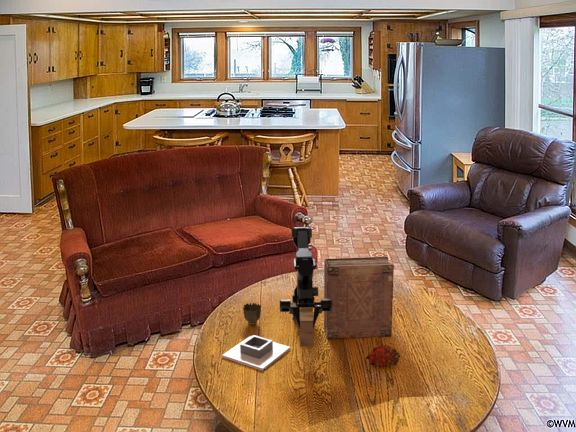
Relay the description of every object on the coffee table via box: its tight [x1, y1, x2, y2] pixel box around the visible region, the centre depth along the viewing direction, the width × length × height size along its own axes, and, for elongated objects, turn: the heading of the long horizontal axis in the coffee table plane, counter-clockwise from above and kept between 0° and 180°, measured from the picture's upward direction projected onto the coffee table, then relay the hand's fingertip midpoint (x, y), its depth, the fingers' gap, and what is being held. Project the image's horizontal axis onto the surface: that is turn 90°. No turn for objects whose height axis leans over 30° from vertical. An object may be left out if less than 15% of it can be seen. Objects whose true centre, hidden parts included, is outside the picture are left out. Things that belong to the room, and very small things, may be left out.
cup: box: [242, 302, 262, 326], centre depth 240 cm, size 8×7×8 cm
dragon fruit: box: [365, 344, 401, 370], centre depth 207 cm, size 8×8×12 cm
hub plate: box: [222, 334, 291, 372], centre depth 217 cm, size 18×18×4 cm
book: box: [323, 255, 395, 340], centre depth 229 cm, size 25×9×30 cm, turn 95°
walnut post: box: [299, 307, 314, 348], centre depth 209 cm, size 5×5×13 cm
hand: (306, 328), depth 208 cm, fingers closed on walnut post, 5 cm apart
